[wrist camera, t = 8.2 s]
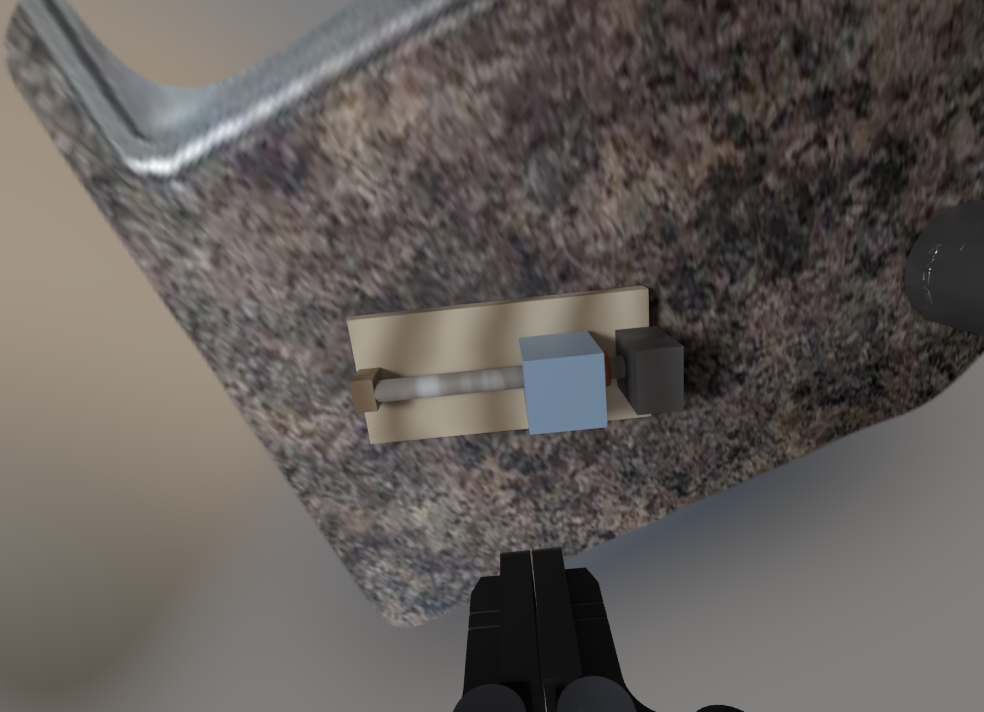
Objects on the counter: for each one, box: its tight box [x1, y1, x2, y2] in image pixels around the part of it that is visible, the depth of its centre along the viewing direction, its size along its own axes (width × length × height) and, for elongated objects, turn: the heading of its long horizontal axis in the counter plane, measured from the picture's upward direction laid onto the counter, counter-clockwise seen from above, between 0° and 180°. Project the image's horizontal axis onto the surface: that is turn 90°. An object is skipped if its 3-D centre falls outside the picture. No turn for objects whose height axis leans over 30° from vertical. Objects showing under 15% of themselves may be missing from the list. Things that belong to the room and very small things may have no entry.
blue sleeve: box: [518, 331, 607, 435], centre depth 35 cm, size 5×5×6 cm
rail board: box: [347, 286, 684, 444], centre depth 36 cm, size 22×10×7 cm, turn 96°
